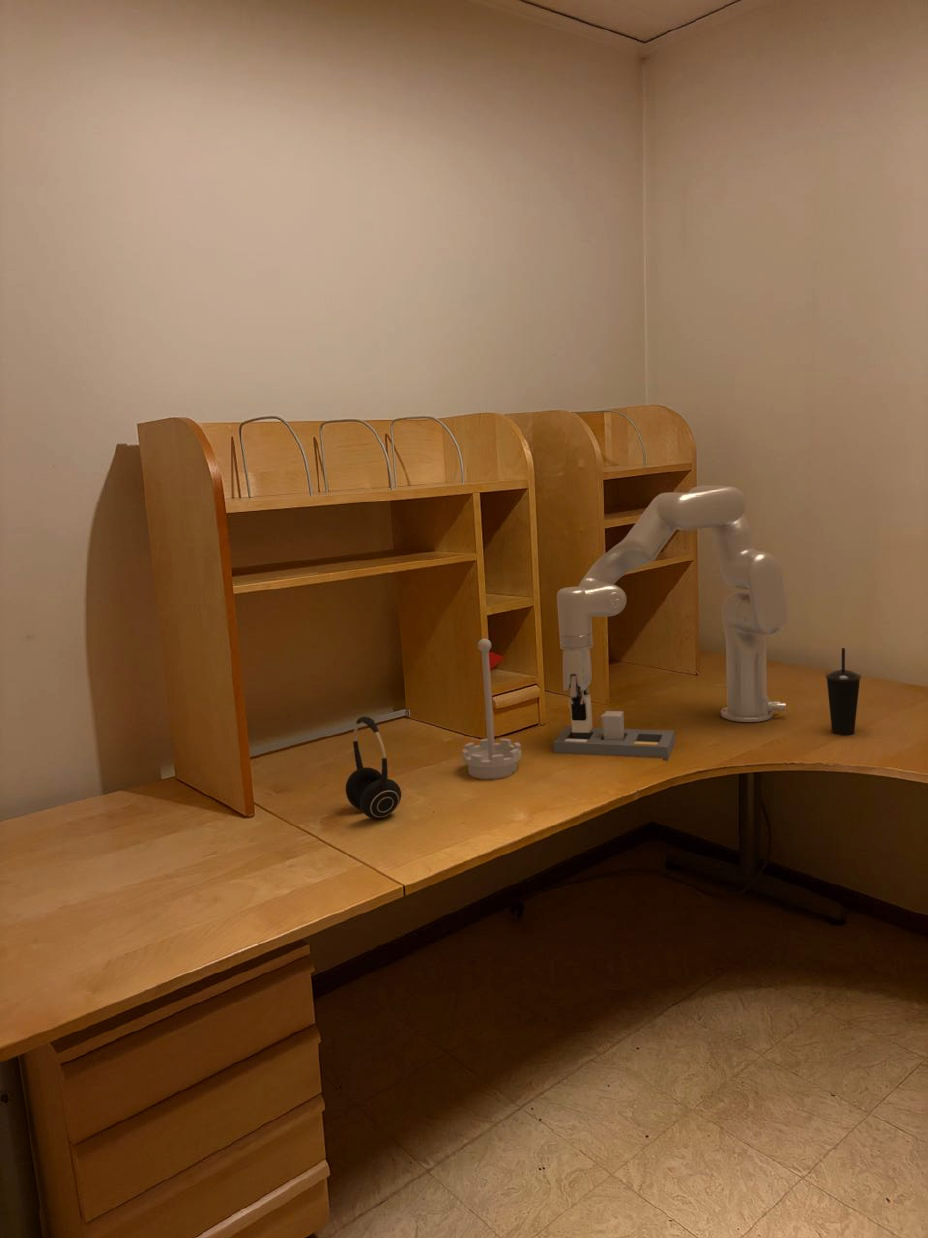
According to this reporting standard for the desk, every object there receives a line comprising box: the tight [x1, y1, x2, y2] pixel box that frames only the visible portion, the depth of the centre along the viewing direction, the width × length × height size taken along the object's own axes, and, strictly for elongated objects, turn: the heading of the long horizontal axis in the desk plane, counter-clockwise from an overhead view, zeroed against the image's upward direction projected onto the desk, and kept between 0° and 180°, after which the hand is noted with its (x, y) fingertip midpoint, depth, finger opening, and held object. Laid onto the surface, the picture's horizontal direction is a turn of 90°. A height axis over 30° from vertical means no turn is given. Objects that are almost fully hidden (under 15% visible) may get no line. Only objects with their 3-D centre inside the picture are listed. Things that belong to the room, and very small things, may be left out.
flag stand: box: [461, 638, 522, 780], centre depth 205 cm, size 13×13×30 cm
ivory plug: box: [567, 694, 594, 733], centre depth 218 cm, size 5×4×8 cm
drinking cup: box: [824, 647, 862, 736], centre depth 215 cm, size 8×8×20 cm
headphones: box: [345, 716, 402, 820], centre depth 186 cm, size 9×15×20 cm, turn 30°
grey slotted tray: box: [552, 710, 676, 761], centre depth 216 cm, size 26×12×8 cm, turn 71°
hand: (581, 716), depth 218 cm, fingers closed on ivory plug, 4 cm apart
